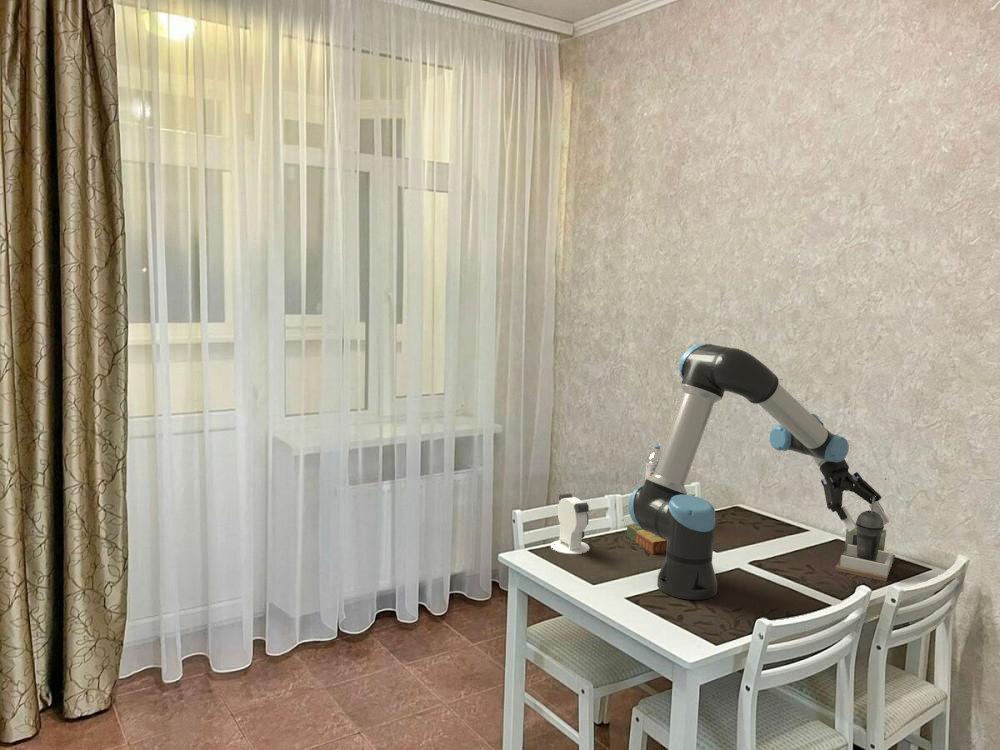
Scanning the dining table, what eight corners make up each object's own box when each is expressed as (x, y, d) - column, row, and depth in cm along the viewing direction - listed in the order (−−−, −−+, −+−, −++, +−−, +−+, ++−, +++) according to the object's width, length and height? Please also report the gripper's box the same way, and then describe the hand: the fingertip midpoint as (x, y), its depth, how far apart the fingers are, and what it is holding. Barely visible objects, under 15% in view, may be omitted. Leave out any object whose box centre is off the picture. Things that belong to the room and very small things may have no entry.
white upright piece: (597, 552, 226) (600, 502, 224) (563, 557, 222) (566, 506, 220) (576, 538, 237) (579, 491, 235) (544, 543, 232) (546, 494, 230)
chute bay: (887, 576, 213) (888, 565, 212) (840, 566, 219) (841, 556, 219) (892, 563, 223) (893, 553, 222) (846, 553, 229) (847, 543, 229)
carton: (652, 555, 226) (652, 541, 226) (625, 537, 241) (626, 524, 241) (677, 553, 229) (677, 538, 228) (649, 534, 244) (650, 521, 243)
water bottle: (666, 519, 259) (671, 445, 255) (658, 524, 253) (663, 449, 250) (646, 515, 262) (651, 442, 259) (639, 520, 257) (643, 446, 253)
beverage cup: (874, 560, 224) (880, 493, 222) (884, 570, 217) (890, 500, 214) (848, 559, 225) (854, 491, 222) (857, 568, 218) (863, 498, 215)
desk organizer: (886, 581, 212) (889, 553, 210) (835, 570, 218) (837, 543, 217) (894, 558, 230) (897, 532, 229) (847, 548, 236) (849, 523, 235)
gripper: (850, 464, 239) (889, 527, 228) (792, 472, 228) (830, 538, 217) (867, 451, 234) (908, 515, 223) (808, 458, 222) (848, 525, 211)
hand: (869, 526), depth 220 cm, fingers open, 13 cm apart
